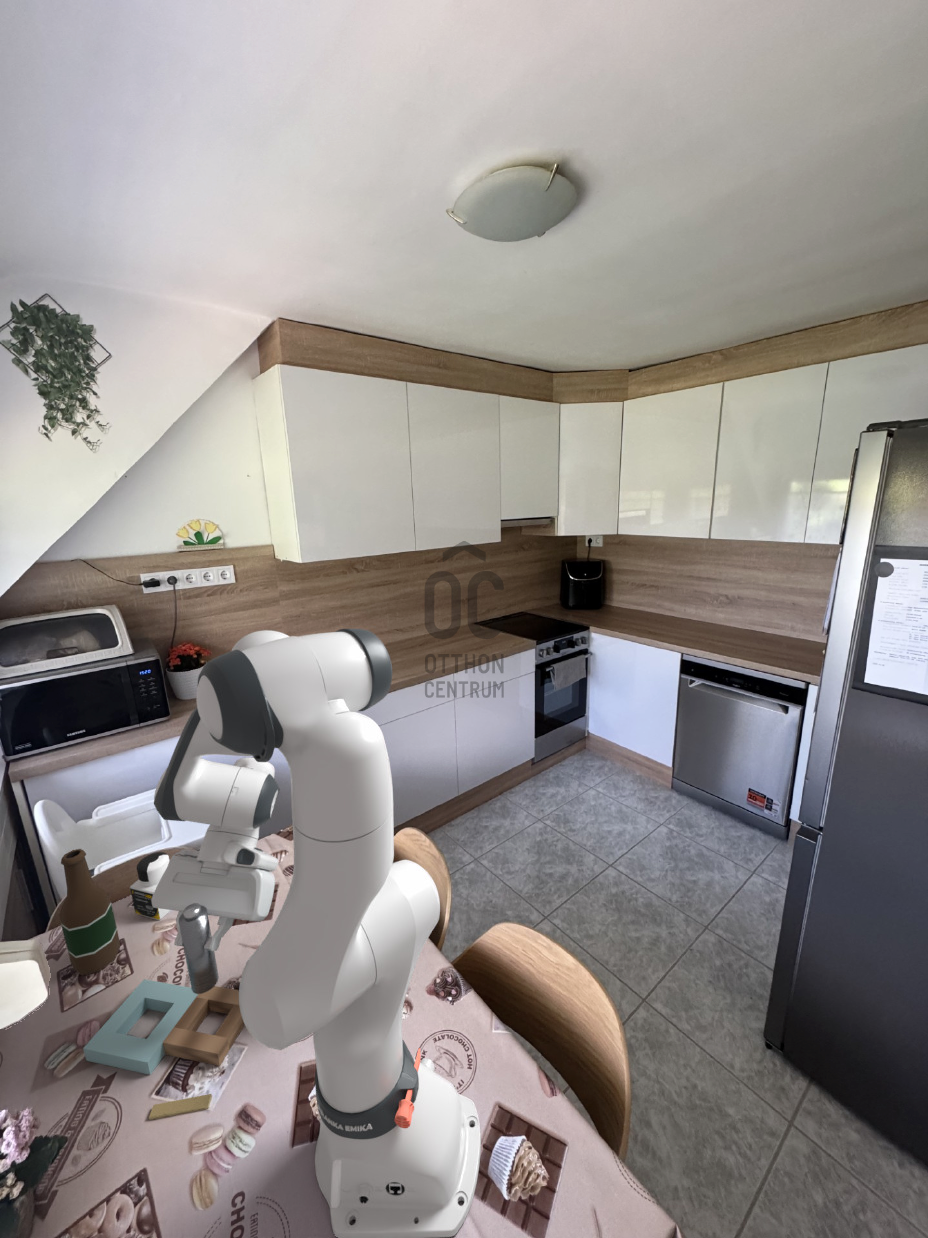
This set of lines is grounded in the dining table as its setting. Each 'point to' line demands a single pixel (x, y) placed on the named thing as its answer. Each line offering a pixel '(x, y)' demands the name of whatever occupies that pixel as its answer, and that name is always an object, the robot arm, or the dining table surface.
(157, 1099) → the dining table surface
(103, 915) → the beer bottle
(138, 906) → the medicine bottle
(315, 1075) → the robot arm
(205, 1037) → the socket block
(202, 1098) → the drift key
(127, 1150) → the dining table surface
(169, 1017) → the block
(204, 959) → the silver metal cylinder
